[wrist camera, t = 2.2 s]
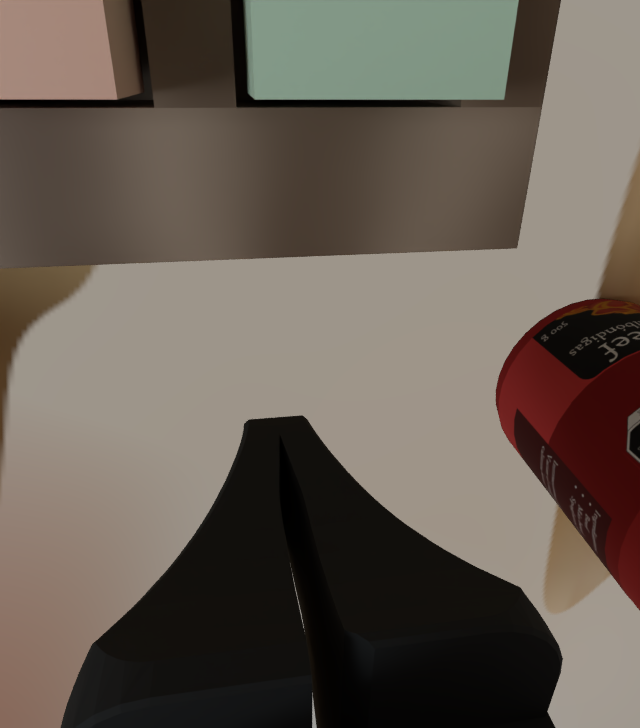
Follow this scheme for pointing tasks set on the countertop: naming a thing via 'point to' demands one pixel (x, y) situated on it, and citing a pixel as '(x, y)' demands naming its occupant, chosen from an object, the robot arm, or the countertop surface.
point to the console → (262, 159)
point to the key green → (378, 49)
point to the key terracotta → (69, 50)
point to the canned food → (583, 423)
